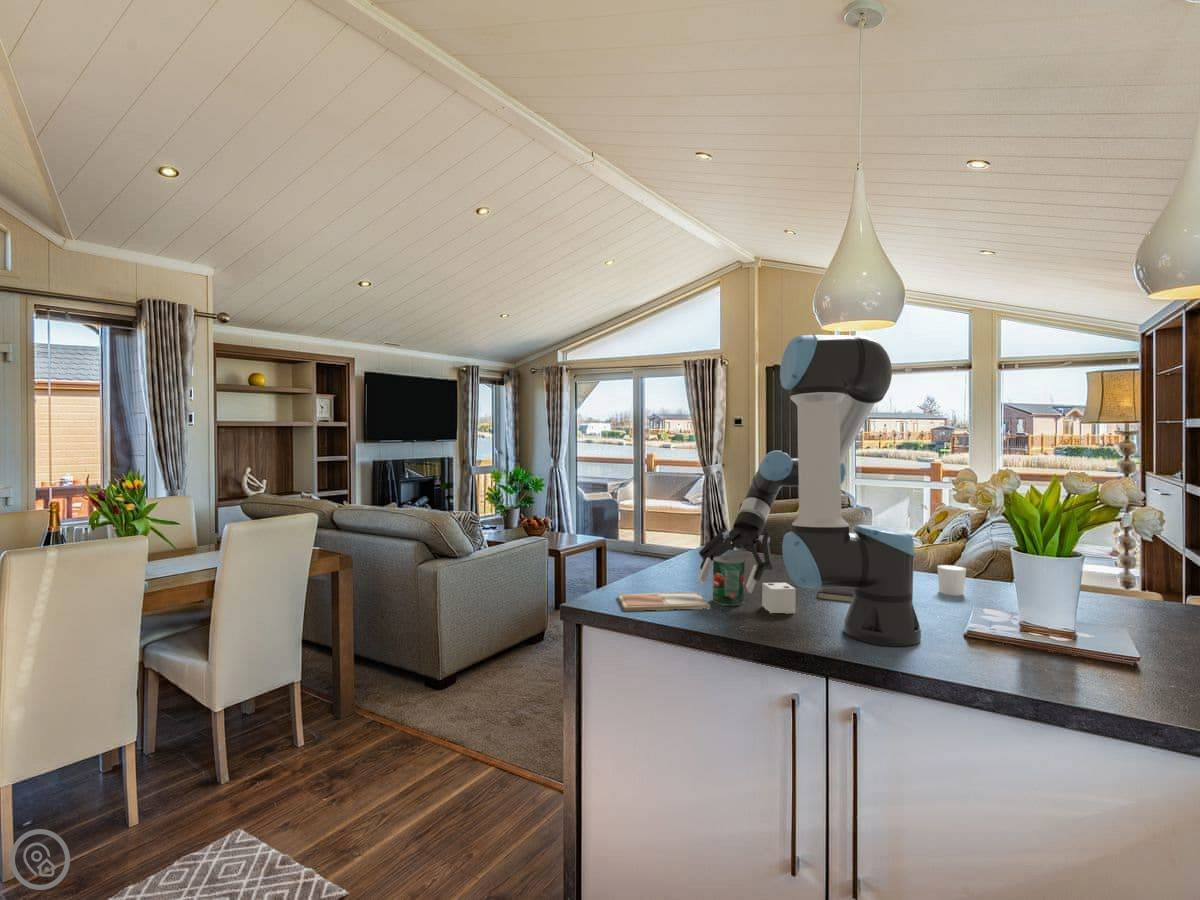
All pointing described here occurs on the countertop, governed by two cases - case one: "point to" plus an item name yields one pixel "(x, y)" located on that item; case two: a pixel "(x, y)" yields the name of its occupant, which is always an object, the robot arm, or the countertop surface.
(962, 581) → the white short cylinder
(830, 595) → the hardcover book
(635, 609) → the game board
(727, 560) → the canned tomato
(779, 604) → the die
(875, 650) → the countertop surface
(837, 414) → the robot arm
